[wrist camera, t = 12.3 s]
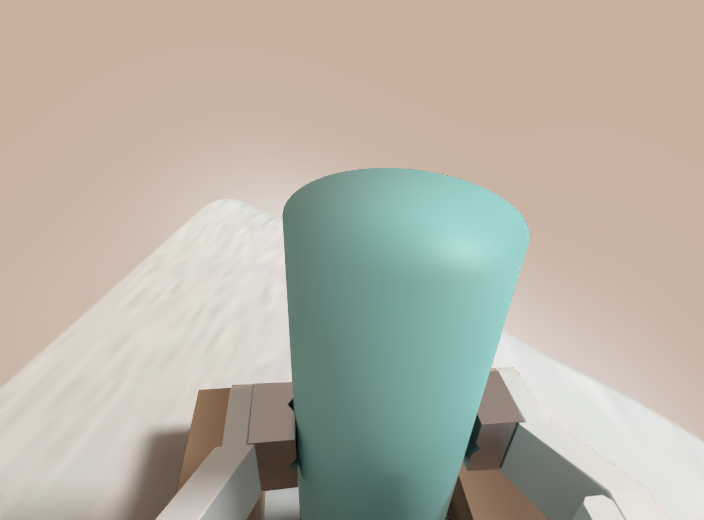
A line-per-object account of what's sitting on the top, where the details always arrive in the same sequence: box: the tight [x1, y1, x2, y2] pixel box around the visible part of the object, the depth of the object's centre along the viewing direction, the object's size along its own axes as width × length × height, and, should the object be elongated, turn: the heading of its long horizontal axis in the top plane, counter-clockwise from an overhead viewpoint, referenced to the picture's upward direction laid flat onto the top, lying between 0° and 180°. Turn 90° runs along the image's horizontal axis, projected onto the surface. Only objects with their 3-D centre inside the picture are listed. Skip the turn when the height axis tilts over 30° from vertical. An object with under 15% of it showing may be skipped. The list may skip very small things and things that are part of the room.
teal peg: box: [283, 168, 530, 520], centre depth 11 cm, size 4×4×12 cm
